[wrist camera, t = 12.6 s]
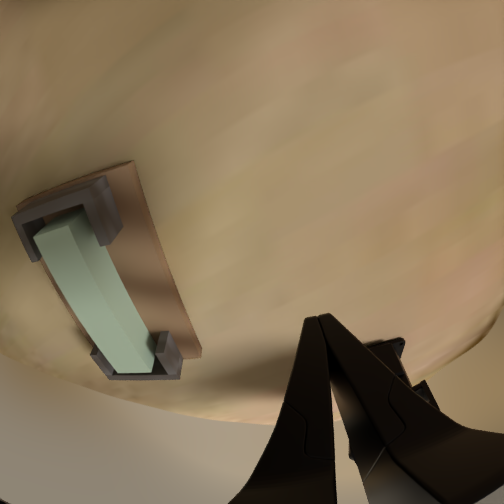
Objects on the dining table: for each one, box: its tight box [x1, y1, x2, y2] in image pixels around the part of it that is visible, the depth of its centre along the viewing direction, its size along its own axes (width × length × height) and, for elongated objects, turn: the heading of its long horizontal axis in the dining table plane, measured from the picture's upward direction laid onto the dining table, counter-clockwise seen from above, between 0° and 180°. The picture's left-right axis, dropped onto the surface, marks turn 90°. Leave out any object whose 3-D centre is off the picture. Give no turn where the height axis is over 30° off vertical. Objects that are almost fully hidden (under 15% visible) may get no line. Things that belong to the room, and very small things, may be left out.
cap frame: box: [11, 160, 202, 380], centre depth 21 cm, size 18×11×4 cm, turn 10°
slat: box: [33, 208, 157, 373], centre depth 20 cm, size 14×4×3 cm, turn 11°
